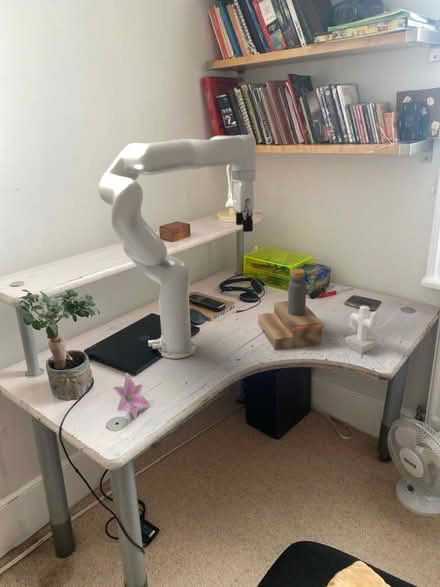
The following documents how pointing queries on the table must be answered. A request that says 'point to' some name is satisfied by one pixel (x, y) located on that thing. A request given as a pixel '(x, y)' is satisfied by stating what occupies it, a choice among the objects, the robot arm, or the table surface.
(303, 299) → the bottle
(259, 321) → the step stand
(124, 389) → the lily
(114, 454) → the table surface
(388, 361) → the table surface
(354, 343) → the figurine
